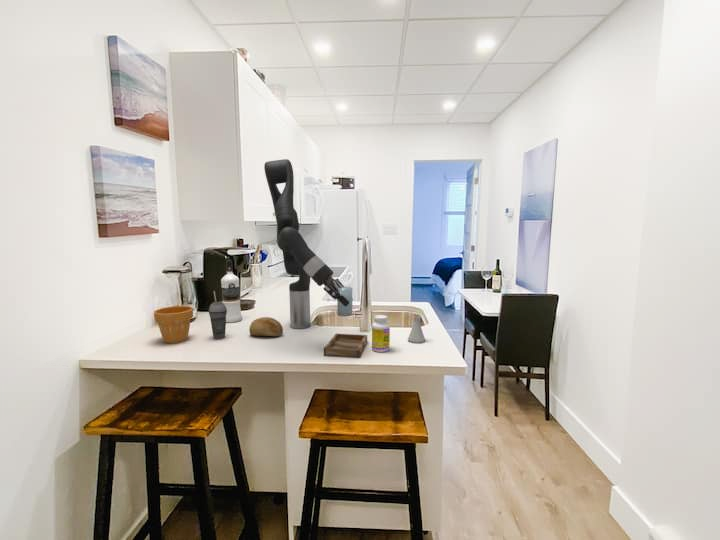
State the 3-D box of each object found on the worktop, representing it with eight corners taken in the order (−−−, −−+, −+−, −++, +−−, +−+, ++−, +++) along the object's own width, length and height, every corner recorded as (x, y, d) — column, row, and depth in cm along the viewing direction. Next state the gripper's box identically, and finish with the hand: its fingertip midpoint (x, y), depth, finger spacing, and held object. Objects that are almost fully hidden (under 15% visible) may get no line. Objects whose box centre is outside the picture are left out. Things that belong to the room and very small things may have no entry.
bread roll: (277, 340, 150) (276, 321, 149) (244, 338, 153) (243, 319, 152) (286, 333, 159) (286, 315, 158) (255, 331, 162) (254, 314, 161)
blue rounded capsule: (339, 312, 139) (339, 286, 138) (353, 313, 138) (353, 287, 137) (335, 316, 134) (335, 289, 133) (350, 316, 133) (350, 289, 132)
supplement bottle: (384, 353, 133) (384, 319, 131) (368, 350, 137) (368, 317, 135) (392, 348, 139) (392, 315, 137) (377, 345, 142) (377, 313, 141)
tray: (336, 340, 149) (336, 333, 149) (367, 341, 147) (367, 335, 146) (323, 355, 131) (323, 348, 131) (358, 358, 129) (358, 350, 129)
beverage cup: (222, 340, 149) (219, 293, 146) (206, 339, 150) (203, 292, 148) (231, 335, 156) (229, 289, 154) (216, 334, 158) (214, 289, 155)
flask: (427, 339, 150) (428, 315, 148) (422, 344, 143) (423, 319, 142) (410, 337, 153) (410, 313, 151) (405, 342, 146) (405, 317, 145)
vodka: (241, 317, 186) (238, 259, 182) (242, 322, 177) (239, 260, 174) (222, 319, 183) (219, 259, 179) (222, 323, 174) (218, 261, 171)
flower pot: (200, 339, 151) (198, 309, 149) (163, 348, 140) (161, 315, 139) (186, 332, 160) (184, 304, 159) (151, 340, 150) (148, 309, 148)
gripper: (319, 266, 128) (352, 300, 127) (330, 261, 142) (360, 292, 141) (305, 280, 130) (337, 314, 129) (317, 274, 144) (347, 305, 143)
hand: (349, 302), depth 135 cm, fingers closed on blue rounded capsule, 5 cm apart
